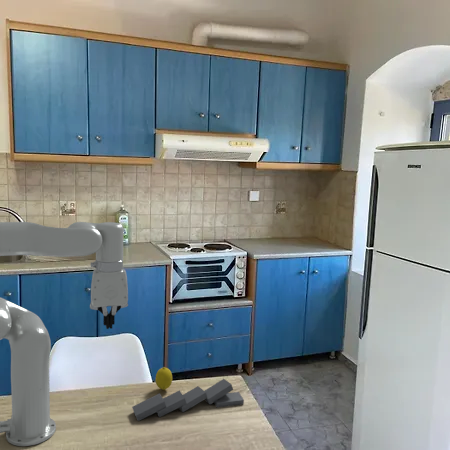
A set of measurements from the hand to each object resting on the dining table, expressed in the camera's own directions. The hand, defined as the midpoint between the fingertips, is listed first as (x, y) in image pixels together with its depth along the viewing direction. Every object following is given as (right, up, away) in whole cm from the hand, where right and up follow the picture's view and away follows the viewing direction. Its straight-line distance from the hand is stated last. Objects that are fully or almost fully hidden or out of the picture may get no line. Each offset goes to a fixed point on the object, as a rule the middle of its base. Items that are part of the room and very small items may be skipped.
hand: (108, 327), depth 132 cm
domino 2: (+13, -26, +5) cm, 30 cm away
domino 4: (+28, -25, +12) cm, 39 cm away
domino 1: (+7, -26, +3) cm, 28 cm away
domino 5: (+30, -27, +12) cm, 42 cm away
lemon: (+13, -25, +19) cm, 34 cm away
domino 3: (+19, -26, +8) cm, 33 cm away
